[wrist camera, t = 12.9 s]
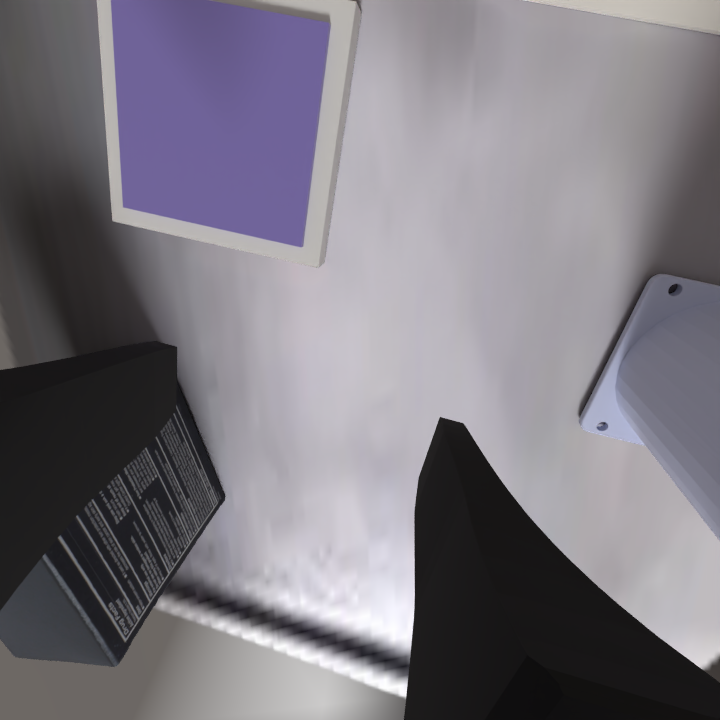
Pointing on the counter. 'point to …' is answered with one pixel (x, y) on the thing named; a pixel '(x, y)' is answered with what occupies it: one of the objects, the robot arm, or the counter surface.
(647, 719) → the robot arm
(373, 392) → the counter surface
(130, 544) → the small box
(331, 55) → the ink pad
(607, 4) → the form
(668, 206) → the counter surface
